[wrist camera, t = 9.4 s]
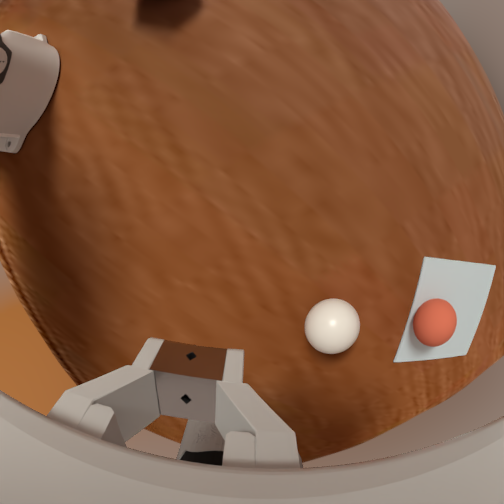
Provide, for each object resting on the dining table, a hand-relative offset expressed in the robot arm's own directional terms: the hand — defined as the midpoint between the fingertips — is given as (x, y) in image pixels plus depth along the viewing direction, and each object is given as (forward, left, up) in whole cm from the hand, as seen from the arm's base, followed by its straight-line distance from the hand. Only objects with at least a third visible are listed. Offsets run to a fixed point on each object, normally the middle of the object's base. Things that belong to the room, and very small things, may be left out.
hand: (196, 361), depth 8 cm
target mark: (+27, -7, -20) cm, 35 cm away
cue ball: (+10, -7, -17) cm, 21 cm away
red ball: (+23, -7, -17) cm, 29 cm away
